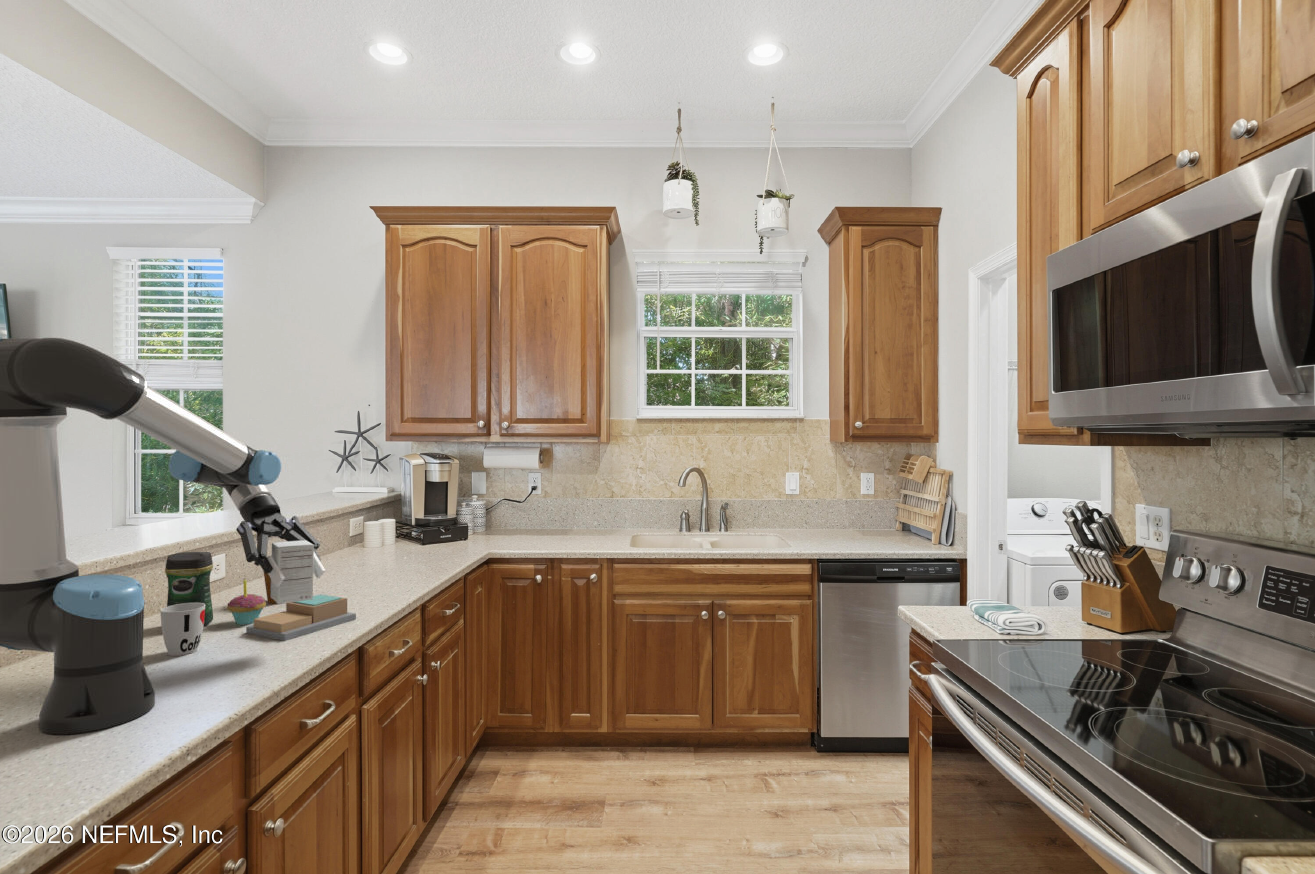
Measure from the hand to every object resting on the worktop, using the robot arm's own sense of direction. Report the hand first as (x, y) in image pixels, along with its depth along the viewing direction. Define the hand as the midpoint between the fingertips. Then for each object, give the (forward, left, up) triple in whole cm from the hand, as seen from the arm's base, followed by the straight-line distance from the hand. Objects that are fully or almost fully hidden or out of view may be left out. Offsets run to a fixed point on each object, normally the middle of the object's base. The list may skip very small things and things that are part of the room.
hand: (301, 578), depth 146 cm
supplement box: (0, +3, -5) cm, 6 cm away
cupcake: (+9, +33, -17) cm, 38 cm away
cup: (-12, +23, -17) cm, 31 cm away
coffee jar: (+1, +43, -17) cm, 46 cm away
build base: (+13, +17, -16) cm, 27 cm away
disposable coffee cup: (+27, +45, -17) cm, 55 cm away
